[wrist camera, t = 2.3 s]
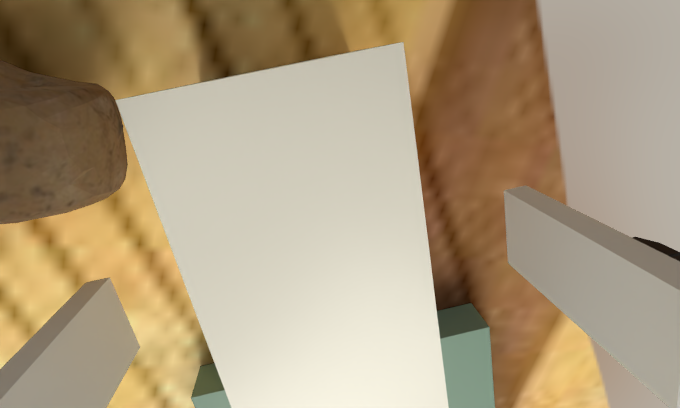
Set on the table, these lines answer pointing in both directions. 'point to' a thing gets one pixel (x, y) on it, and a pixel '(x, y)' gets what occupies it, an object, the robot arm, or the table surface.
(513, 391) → the table surface
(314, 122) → the block
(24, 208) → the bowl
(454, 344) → the header board
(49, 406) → the robot arm
